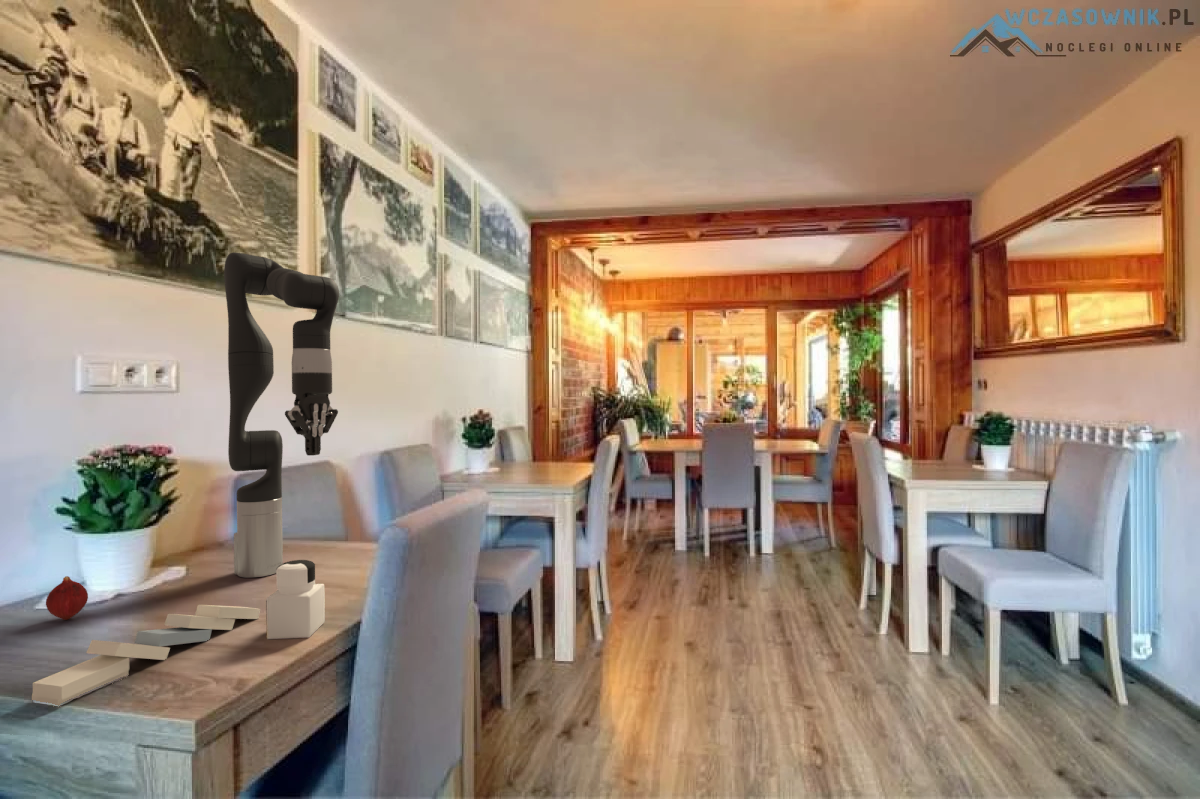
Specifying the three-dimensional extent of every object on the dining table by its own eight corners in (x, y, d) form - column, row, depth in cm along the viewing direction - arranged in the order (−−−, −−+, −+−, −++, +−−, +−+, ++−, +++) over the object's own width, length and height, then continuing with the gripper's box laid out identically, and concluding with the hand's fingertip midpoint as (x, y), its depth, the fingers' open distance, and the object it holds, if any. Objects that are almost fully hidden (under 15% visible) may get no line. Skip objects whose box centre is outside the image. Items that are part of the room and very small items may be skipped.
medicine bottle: (284, 624, 107) (283, 557, 107) (325, 622, 108) (324, 556, 108) (265, 640, 100) (264, 569, 100) (309, 638, 101) (308, 567, 101)
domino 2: (103, 676, 89) (31, 707, 80) (103, 664, 89) (31, 694, 80) (128, 680, 87) (58, 712, 79) (128, 668, 87) (58, 698, 79)
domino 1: (102, 666, 88) (32, 696, 80) (102, 654, 88) (32, 682, 80) (129, 669, 87) (61, 700, 78) (129, 657, 87) (61, 686, 78)
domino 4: (186, 637, 102) (134, 643, 93) (188, 626, 102) (137, 631, 94) (209, 640, 100) (159, 646, 92) (211, 629, 101) (162, 634, 92)
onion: (95, 615, 112) (95, 573, 112) (59, 627, 107) (58, 582, 107) (75, 612, 114) (74, 570, 114) (38, 623, 109) (38, 579, 109)
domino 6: (236, 616, 111) (194, 615, 103) (239, 606, 112) (198, 604, 104) (258, 619, 110) (217, 618, 102) (260, 608, 110) (221, 607, 102)
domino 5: (209, 627, 106) (164, 625, 98) (212, 616, 107) (168, 613, 98) (231, 630, 105) (188, 628, 97) (235, 619, 105) (191, 616, 97)
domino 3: (139, 657, 94) (86, 653, 86) (143, 645, 94) (91, 639, 87) (165, 660, 93) (114, 656, 85) (170, 647, 94) (120, 642, 86)
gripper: (303, 369, 116) (304, 458, 116) (349, 372, 128) (350, 452, 129) (271, 370, 118) (273, 458, 118) (319, 373, 130) (320, 451, 131)
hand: (313, 454), depth 123 cm, fingers closed
